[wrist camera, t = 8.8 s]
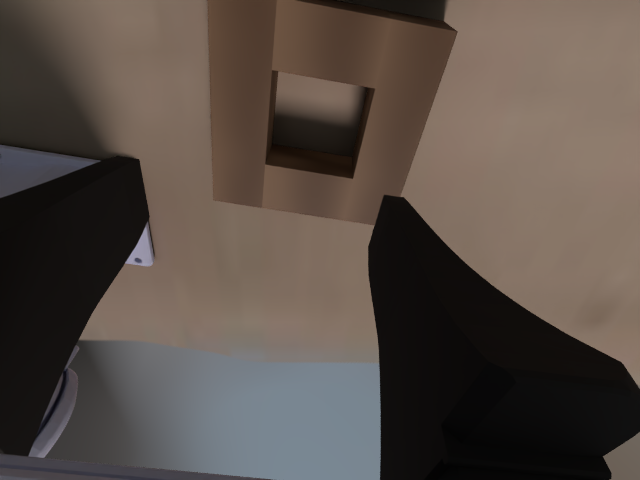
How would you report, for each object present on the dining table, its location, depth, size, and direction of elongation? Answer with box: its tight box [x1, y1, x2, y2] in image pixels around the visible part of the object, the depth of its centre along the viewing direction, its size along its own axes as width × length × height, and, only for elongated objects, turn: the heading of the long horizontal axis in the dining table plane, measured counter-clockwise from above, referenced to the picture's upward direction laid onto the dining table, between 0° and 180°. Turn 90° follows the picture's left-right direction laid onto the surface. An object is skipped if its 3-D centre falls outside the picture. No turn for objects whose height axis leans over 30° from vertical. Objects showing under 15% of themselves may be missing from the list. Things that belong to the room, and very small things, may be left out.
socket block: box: [208, 0, 457, 225], centre depth 19 cm, size 10×10×2 cm
